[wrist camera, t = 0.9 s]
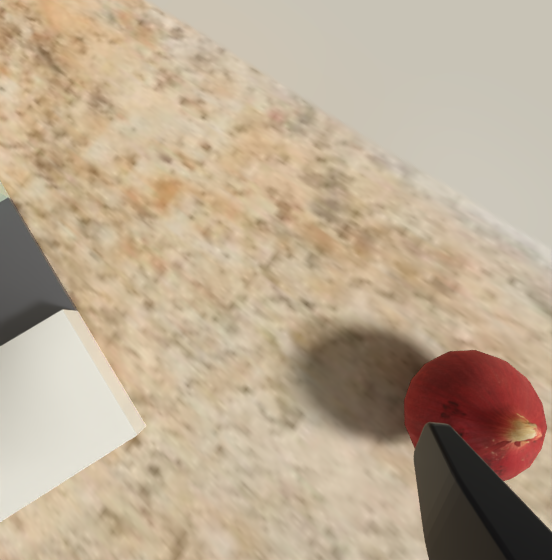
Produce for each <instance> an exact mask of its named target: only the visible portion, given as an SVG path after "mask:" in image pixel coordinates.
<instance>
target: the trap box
mask: <svg viewBox="0 0 552 560" xmlns="http://www.w3.org/2000/svg"><path fill="white" fill-rule="evenodd" d="M145 427H146V424H145V423H144V421H143V419H142V418H141V416H140V414H139V413H138V411H137V409H136V407H135V406H134V404H133V402H132V401H131V399H130V397H129V396H128V394H127V392H126V391H125V389H124V387H123V386H122V384H121V382H120V381H119V379H118V377H117V376H116V374H115V372H114V371H113V369H112V367H111V366H110V364H109V362H108V361H107V359H106V357H105V356H104V354H103V352H102V351H101V349H100V347H99V346H98V344H97V342H96V340H95V339H94V337H93V335H92V334H91V332H90V330H89V329H88V327H87V325H86V324H85V322H84V320H83V319H82V317H81V315H80V314H79V312H78V310H77V309H76V307H75V305H74V304H73V302H72V300H71V299H70V297H69V295H68V294H67V292H66V290H65V289H64V287H63V285H62V284H61V282H60V280H59V278H58V277H57V275H56V273H55V272H54V270H53V268H52V267H51V265H50V263H49V262H48V260H47V258H46V257H45V255H44V253H43V252H42V250H41V248H40V247H39V245H38V243H37V242H36V240H35V238H34V237H33V235H32V233H31V232H30V230H29V228H28V227H27V225H26V223H25V222H24V220H23V218H22V217H21V215H20V213H19V211H18V210H17V208H16V206H15V205H14V203H13V201H12V200H11V198H10V196H9V195H8V193H7V191H6V190H5V188H4V186H3V185H2V183H1V181H0V522H1V521H3V520H4V519H6V518H8V517H9V516H11V515H12V514H14V513H15V512H17V511H19V510H20V509H22V508H23V507H25V506H26V505H28V504H30V503H31V502H33V501H34V500H36V499H37V498H39V497H41V496H42V495H44V494H45V493H47V492H48V491H50V490H52V489H53V488H55V487H56V486H58V485H59V484H61V483H63V482H64V481H66V480H67V479H69V478H70V477H72V476H74V475H75V474H77V473H78V472H80V471H81V470H83V469H85V468H86V467H88V466H89V465H91V464H93V463H94V462H96V461H97V460H99V459H100V458H102V457H104V456H105V455H107V454H108V453H110V452H111V451H113V450H115V449H116V448H118V447H119V446H121V445H122V444H124V443H126V442H127V441H129V440H130V439H132V438H133V437H135V436H137V435H138V434H139V433H140V432H141V431H142V430H143V429H144V428H145Z"/></svg>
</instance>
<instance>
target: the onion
mask: <svg viewBox="0 0 552 560" xmlns="http://www.w3.org/2000/svg"><path fill="white" fill-rule="evenodd" d="M404 417H405V426H406V429H407V431H408V433H409V436H410V438H411V441H412V443H413V445H414V448H416V445H417V443H418V440H419V438H420V435H421V433H422V430H423V428H424V426H425V424H426V423H428V422H435V423H445V424H448V425H450V426H451V427H452V428H453V429H454V430H455V431H456V432H457V433H458V434H459V435H460V436H461V437H462V438H463V439H464V440H465V441H466V443H467V444H468V445H469V446H470V447H471V448H472V449H473V450H474V451H475V452H476V453H477V454H478V455H479V456H480V457H481V458H482V459H483V460H484V461H485V462H486V463H487V465H488V466H489V467H490V468H491V469H492V470H493V471H494V472H495V473H496V474H497V475H498V476H499V477H500V478H501V479H502V480H503V481H505V480H509V479H511V478H513V477H515V476H516V475H518V474H519V473H521V472H522V471H524V470H526V469H527V468H529V467H530V466H531V464H532V463H533V461H534V459H535V458H536V456H537V455H538V453H539V452H540V450H541V449H542V445H543V441H544V437H545V433H546V430H547V425H546V420H545V415H544V410H543V405H542V402H541V400H540V399H539V397H538V395H537V394H536V392H535V390H534V388H533V387H532V385H531V383H530V382H529V381H528V379H527V378H526V377H525V376H523V375H522V374H521V373H520V372H519V371H517V370H516V369H515V368H514V367H512V366H511V365H510V364H509V363H508V362H506V361H504V360H502V359H500V358H497V357H494V356H491V355H488V354H485V353H482V352H479V351H476V350H469V351H450V352H447V353H445V354H443V355H441V356H439V357H437V358H435V359H433V360H431V361H430V362H428V363H426V364H424V365H423V367H422V368H421V369H420V370H419V371H418V373H417V374H416V375H415V376H414V377H413V378H412V380H411V382H410V385H409V388H408V391H407V393H406V396H405V399H404Z"/></svg>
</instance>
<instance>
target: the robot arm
mask: <svg viewBox="0 0 552 560" xmlns="http://www.w3.org/2000/svg"><path fill="white" fill-rule="evenodd" d="M414 466H415V474H416V481H417V488H418V496H419V503H420V511H421V518H422V525H423V532H424V538H425V544H426V548H427V553H428V557H429V560H552V531H551V530H550V529H549V528H548V527H547V526H546V525H545V524H544V523H543V522H542V521H541V520H540V519H539V518H538V517H537V516H536V515H535V514H534V513H533V512H532V511H531V509H530V508H529V507H528V506H527V505H526V504H525V503H524V502H523V501H522V500H521V499H520V498H519V497H518V496H517V495H516V494H515V493H514V492H513V491H512V490H511V489H510V488H509V486H508V485H507V484H506V483H505V482H504V481H503V480H502V479H501V478H500V477H499V476H498V475H497V474H496V473H495V472H494V471H493V470H492V469H491V468H490V467H489V466H488V465H487V463H486V462H485V461H484V460H483V459H482V458H481V457H480V456H479V455H478V454H477V453H476V452H475V451H474V450H473V449H472V448H471V447H470V446H469V445H468V444H467V443H466V441H465V440H464V439H463V438H462V437H461V436H460V435H459V434H458V433H457V432H456V431H455V430H454V429H453V428H452V427H451V426H450V425H448V424H445V423H435V422H428V423H426V424H425V426H424V428H423V430H422V433H421V435H420V438H419V440H418V443H417V445H416V448H415V451H414Z"/></svg>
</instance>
